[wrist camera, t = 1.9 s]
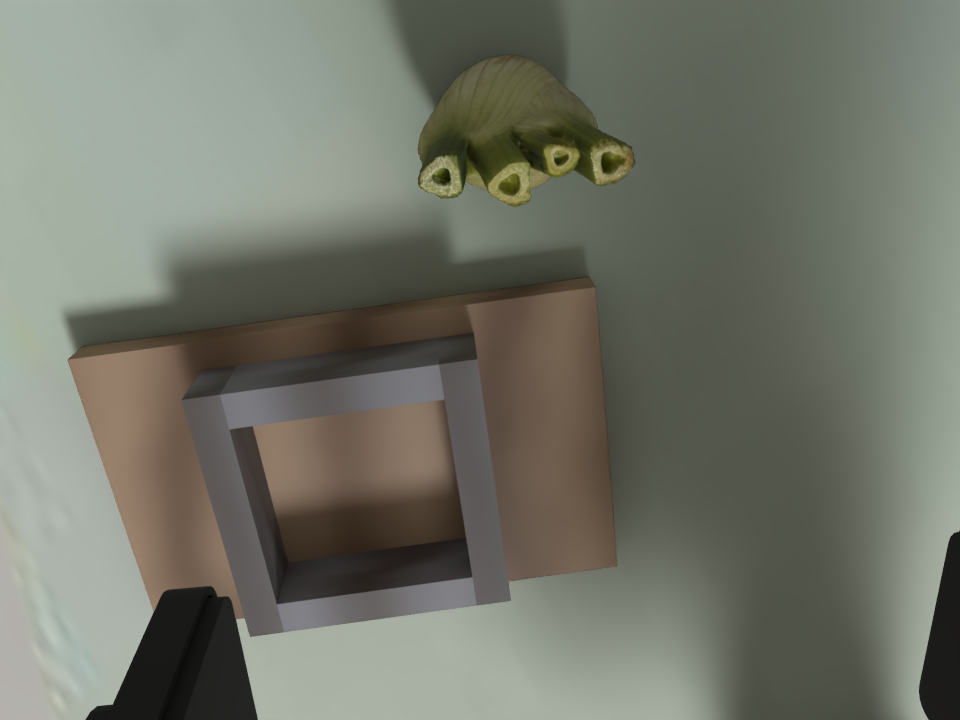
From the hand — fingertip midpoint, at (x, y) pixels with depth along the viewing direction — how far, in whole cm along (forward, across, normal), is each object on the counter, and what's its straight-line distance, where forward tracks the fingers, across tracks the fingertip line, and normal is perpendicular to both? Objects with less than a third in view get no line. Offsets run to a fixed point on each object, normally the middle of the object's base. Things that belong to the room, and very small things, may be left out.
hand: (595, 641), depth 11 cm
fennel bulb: (+26, -1, -4) cm, 26 cm away
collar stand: (+25, +6, +11) cm, 28 cm away
